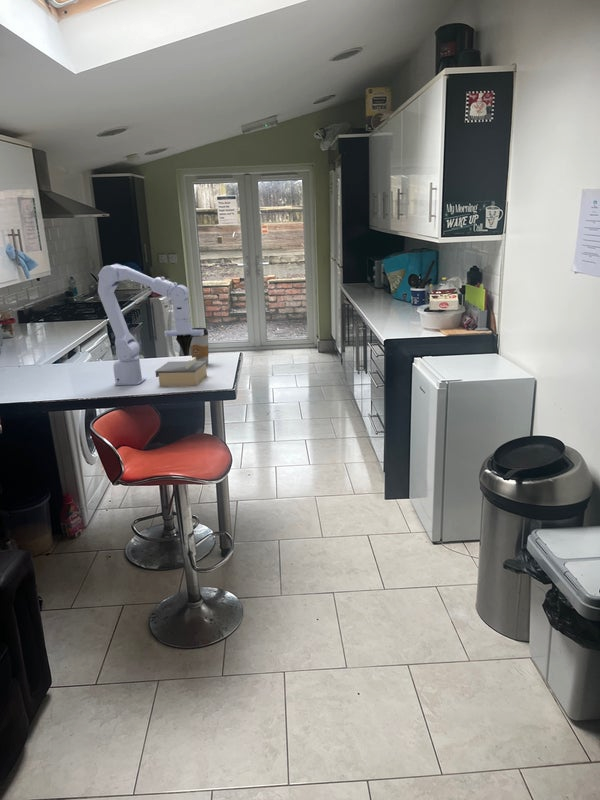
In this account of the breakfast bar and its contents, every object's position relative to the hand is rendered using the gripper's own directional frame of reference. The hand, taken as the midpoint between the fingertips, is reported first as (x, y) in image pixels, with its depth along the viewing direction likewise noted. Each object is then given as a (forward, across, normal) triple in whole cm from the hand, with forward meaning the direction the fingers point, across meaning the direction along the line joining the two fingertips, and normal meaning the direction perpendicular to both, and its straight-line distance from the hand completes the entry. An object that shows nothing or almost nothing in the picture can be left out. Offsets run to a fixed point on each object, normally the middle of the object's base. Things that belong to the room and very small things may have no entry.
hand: (186, 355), depth 226 cm
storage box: (+10, +2, 0) cm, 10 cm away
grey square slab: (+6, +2, 0) cm, 7 cm away
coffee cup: (+10, +3, -26) cm, 28 cm away
